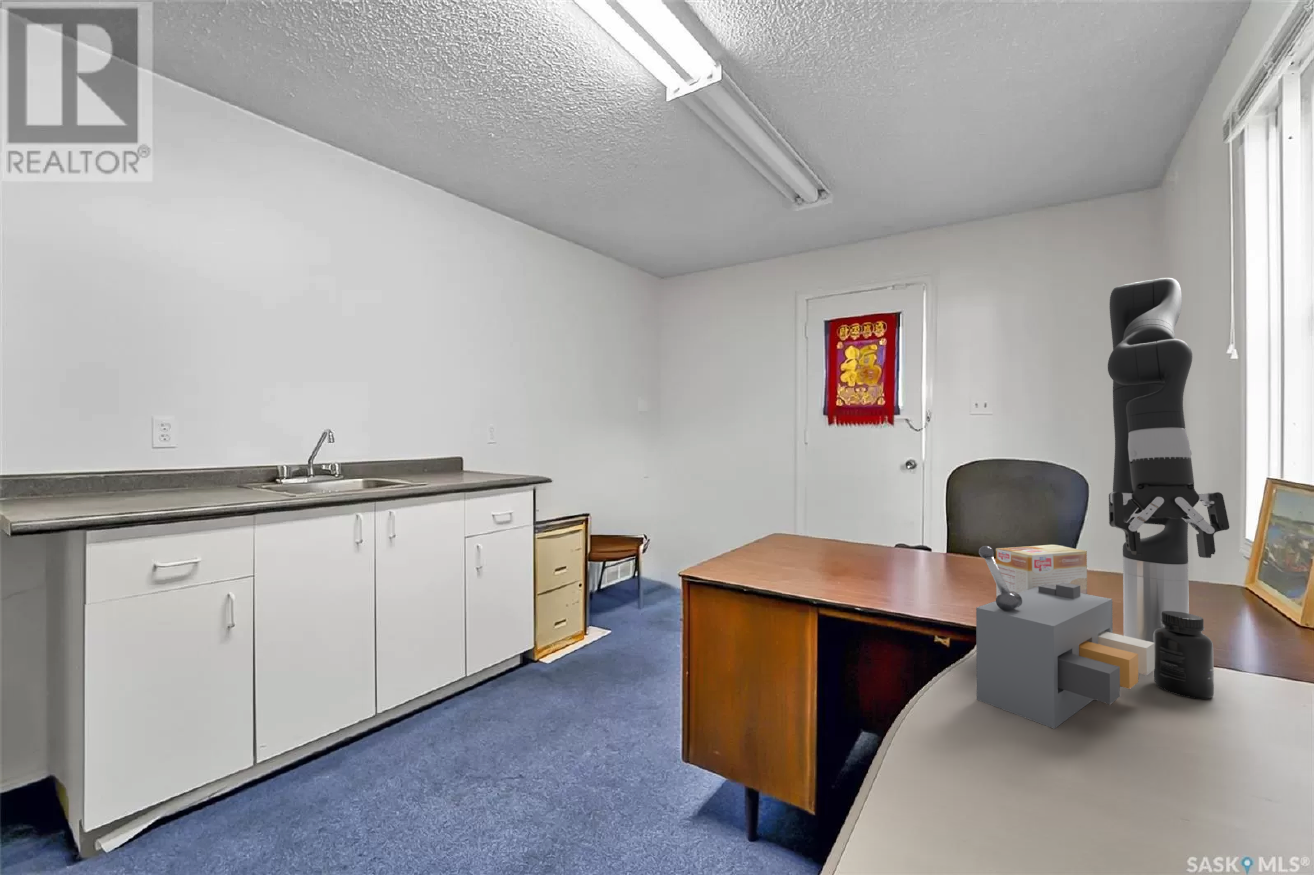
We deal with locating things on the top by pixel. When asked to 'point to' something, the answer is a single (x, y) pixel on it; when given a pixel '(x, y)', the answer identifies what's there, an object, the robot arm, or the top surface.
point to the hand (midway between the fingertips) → (1170, 556)
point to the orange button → (1113, 660)
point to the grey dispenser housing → (1036, 650)
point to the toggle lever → (1000, 582)
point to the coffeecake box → (1041, 567)
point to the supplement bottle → (1183, 656)
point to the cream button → (1131, 649)
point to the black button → (1089, 677)
